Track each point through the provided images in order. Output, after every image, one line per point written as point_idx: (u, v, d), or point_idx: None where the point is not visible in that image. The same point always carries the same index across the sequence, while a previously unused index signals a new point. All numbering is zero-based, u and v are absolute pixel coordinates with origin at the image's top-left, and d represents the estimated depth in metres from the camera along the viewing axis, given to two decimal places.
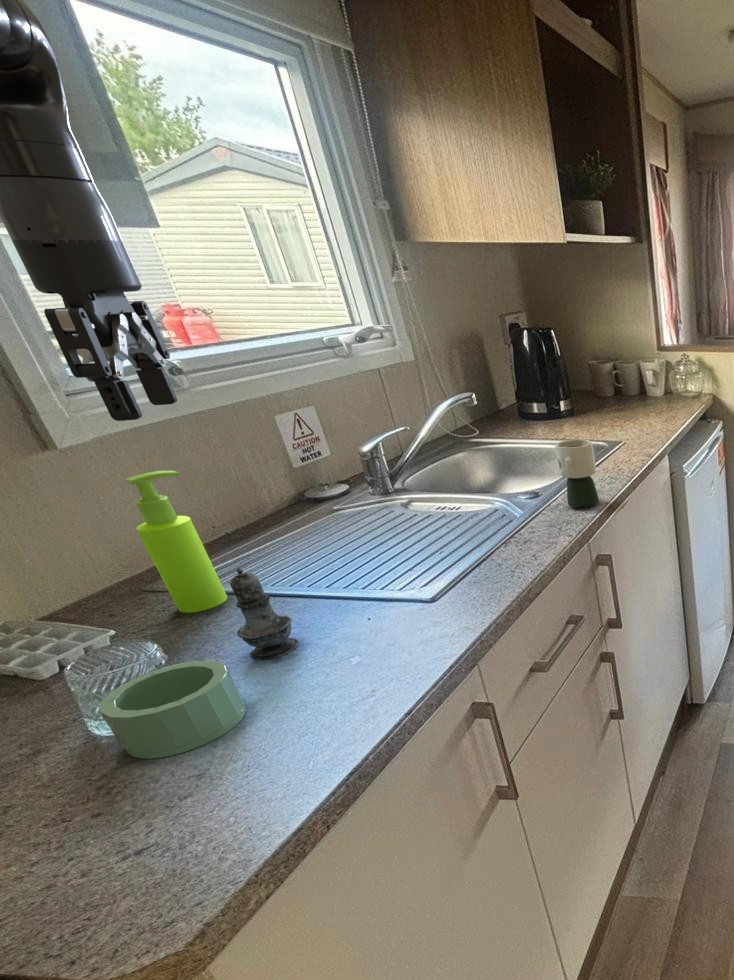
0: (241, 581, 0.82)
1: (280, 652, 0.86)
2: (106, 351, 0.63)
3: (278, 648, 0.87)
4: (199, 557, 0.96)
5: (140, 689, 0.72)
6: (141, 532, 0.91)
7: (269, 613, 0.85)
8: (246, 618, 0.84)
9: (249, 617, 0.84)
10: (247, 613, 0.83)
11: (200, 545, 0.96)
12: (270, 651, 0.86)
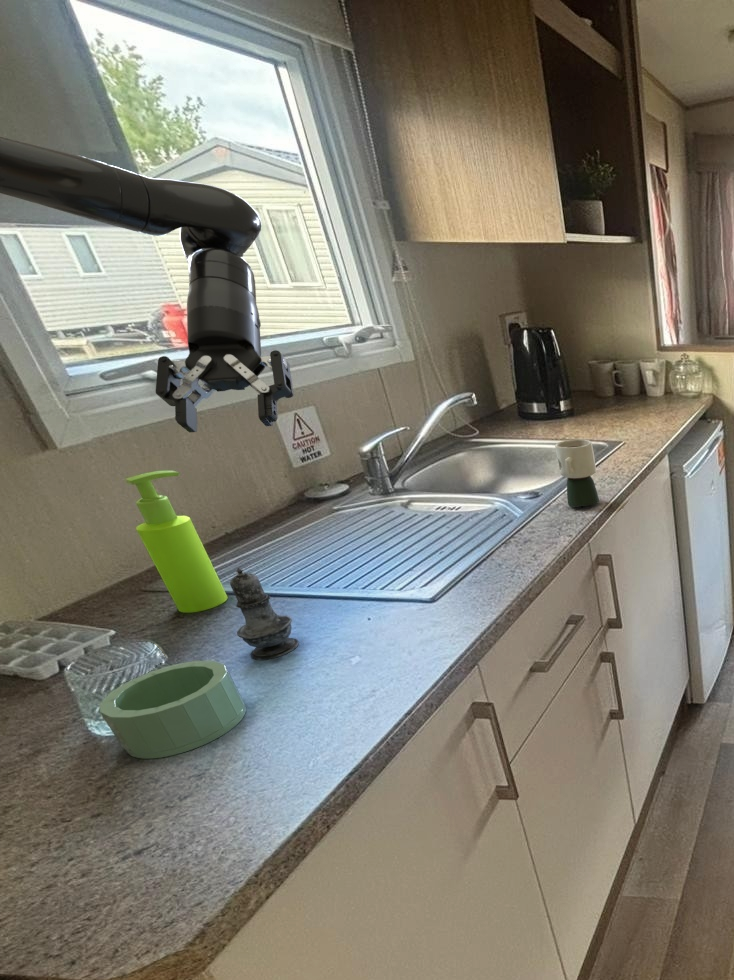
0: (241, 581, 0.82)
1: (280, 652, 0.86)
2: None
3: (278, 648, 0.87)
4: (199, 557, 0.96)
5: (140, 689, 0.72)
6: (141, 532, 0.91)
7: (269, 613, 0.85)
8: (246, 618, 0.84)
9: (249, 617, 0.84)
10: (247, 613, 0.83)
11: (200, 545, 0.96)
12: (270, 651, 0.86)
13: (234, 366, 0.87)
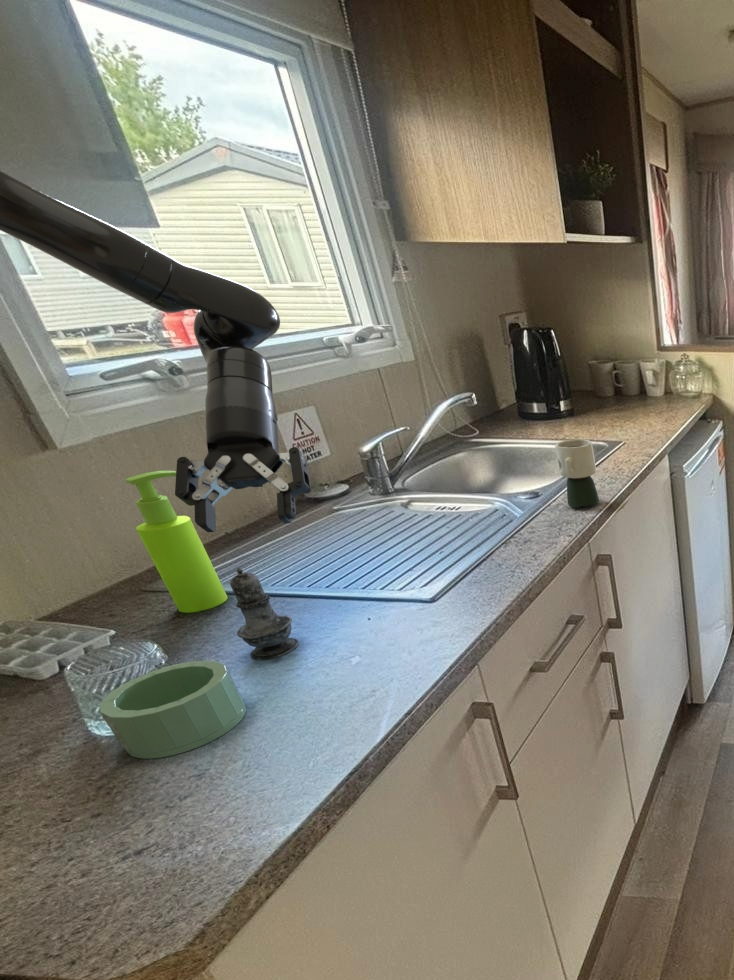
0: (241, 581, 0.82)
1: (280, 652, 0.86)
2: None
3: (278, 648, 0.87)
4: (199, 557, 0.96)
5: (140, 689, 0.72)
6: (141, 532, 0.91)
7: (269, 613, 0.85)
8: (246, 618, 0.84)
9: (249, 617, 0.84)
10: (247, 613, 0.83)
11: (200, 545, 0.96)
12: (270, 651, 0.86)
13: (253, 465, 0.88)
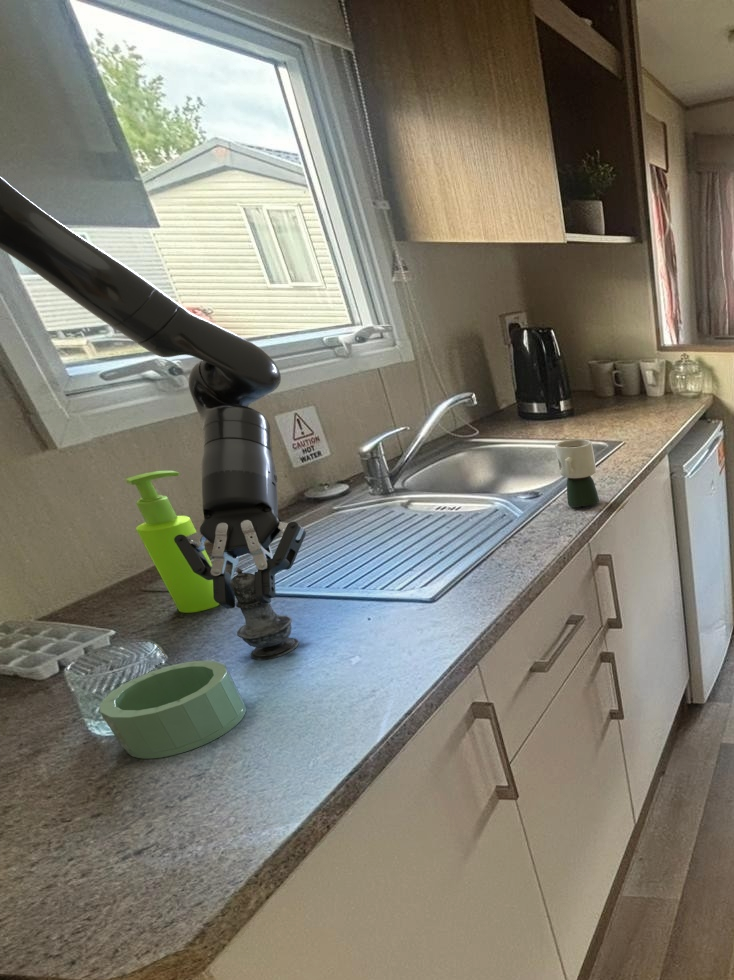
0: (241, 581, 0.82)
1: (280, 652, 0.86)
2: None
3: (278, 648, 0.87)
4: None
5: (140, 689, 0.72)
6: (141, 532, 0.91)
7: (269, 613, 0.85)
8: (246, 618, 0.84)
9: (249, 617, 0.84)
10: (247, 613, 0.83)
11: None
12: (270, 651, 0.86)
13: (246, 534, 0.83)
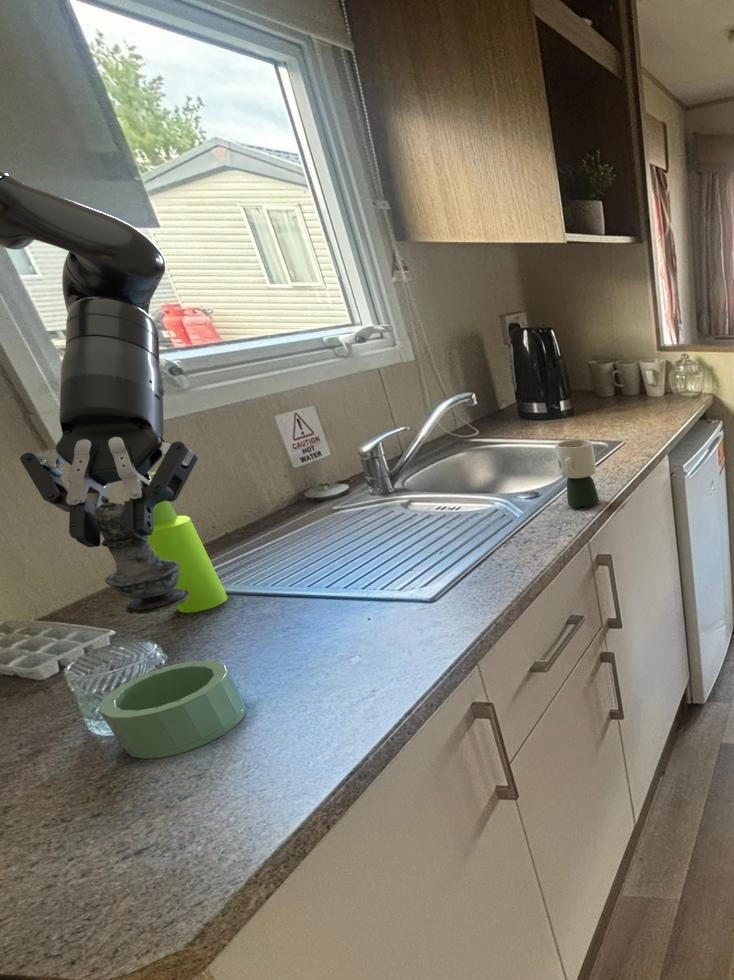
0: (106, 512, 0.65)
1: (163, 605, 0.69)
2: None
3: (161, 601, 0.70)
4: (199, 557, 0.96)
5: (140, 689, 0.72)
6: None
7: (147, 555, 0.68)
8: (116, 560, 0.67)
9: (119, 559, 0.67)
10: (116, 554, 0.66)
11: (200, 545, 0.96)
12: (150, 603, 0.69)
13: (115, 454, 0.66)
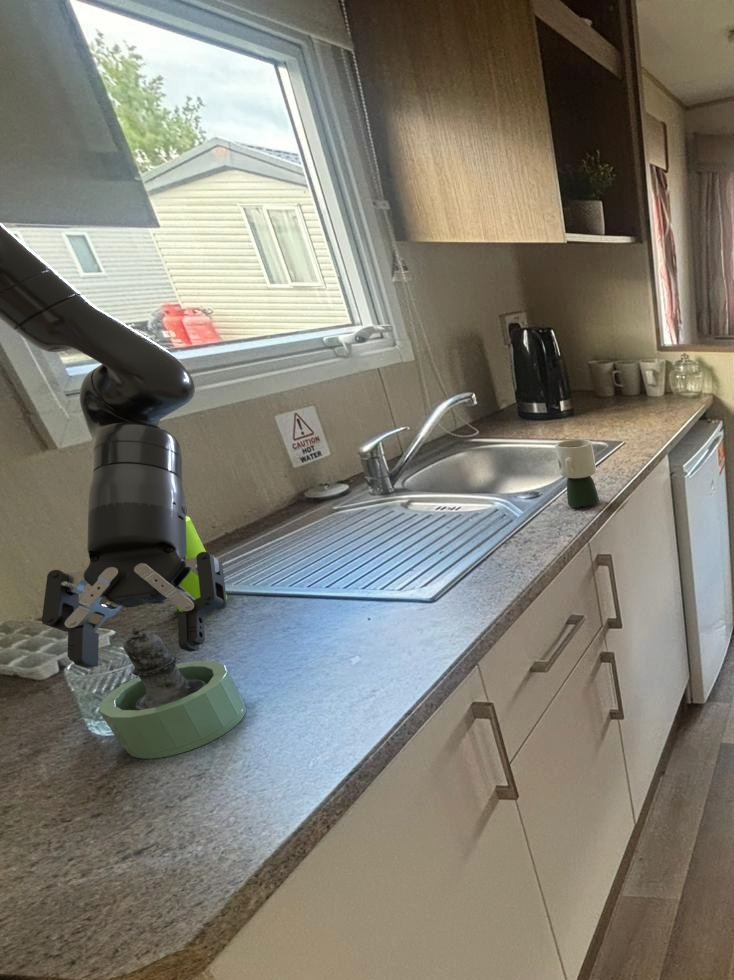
0: (137, 644, 0.67)
1: None
2: (188, 595, 0.71)
3: None
4: None
5: (140, 689, 0.72)
6: None
7: (175, 680, 0.70)
8: (146, 687, 0.69)
9: (149, 686, 0.69)
10: (146, 681, 0.69)
11: (200, 545, 0.96)
12: None
13: (148, 579, 0.68)
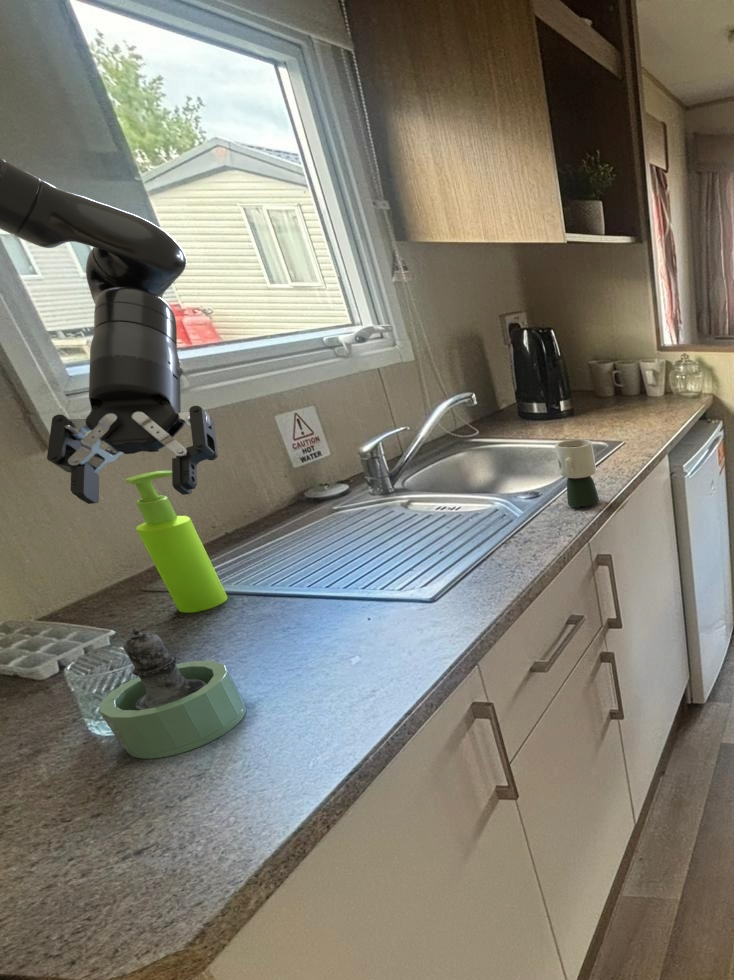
0: (137, 644, 0.67)
1: None
2: None
3: None
4: (199, 557, 0.96)
5: (140, 689, 0.72)
6: (141, 532, 0.91)
7: (175, 680, 0.70)
8: (146, 687, 0.69)
9: (149, 686, 0.69)
10: (146, 681, 0.69)
11: (200, 545, 0.96)
12: None
13: (144, 426, 0.74)
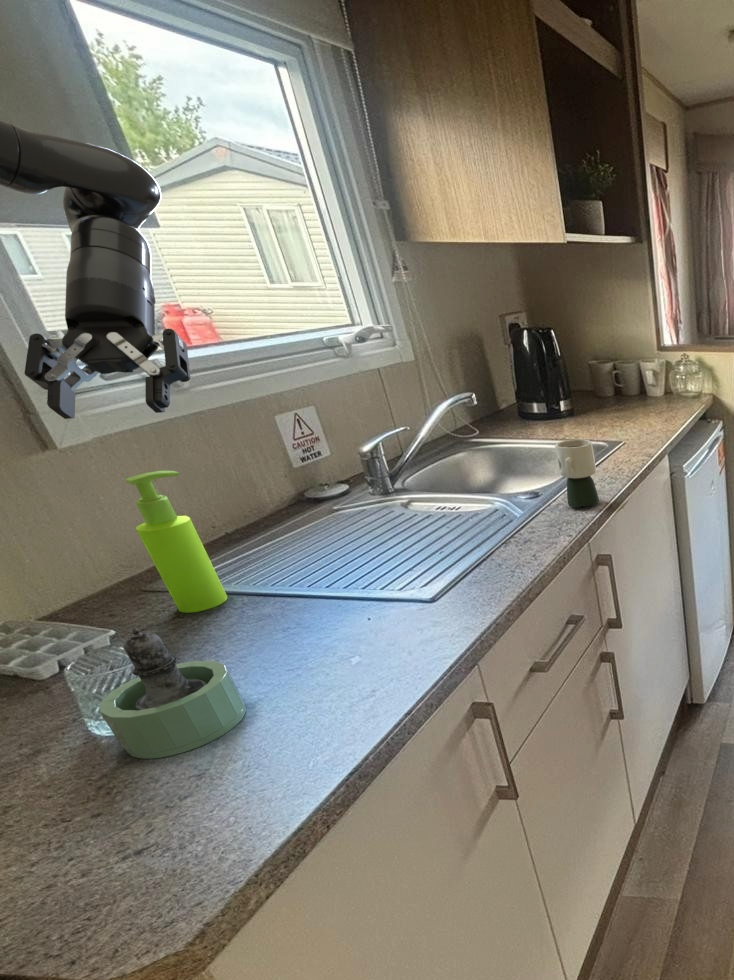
0: (137, 644, 0.67)
1: None
2: None
3: None
4: (199, 557, 0.96)
5: (140, 689, 0.72)
6: (141, 532, 0.91)
7: (175, 680, 0.70)
8: (146, 687, 0.69)
9: (149, 686, 0.69)
10: (146, 681, 0.69)
11: (200, 545, 0.96)
12: None
13: (119, 345, 0.77)
